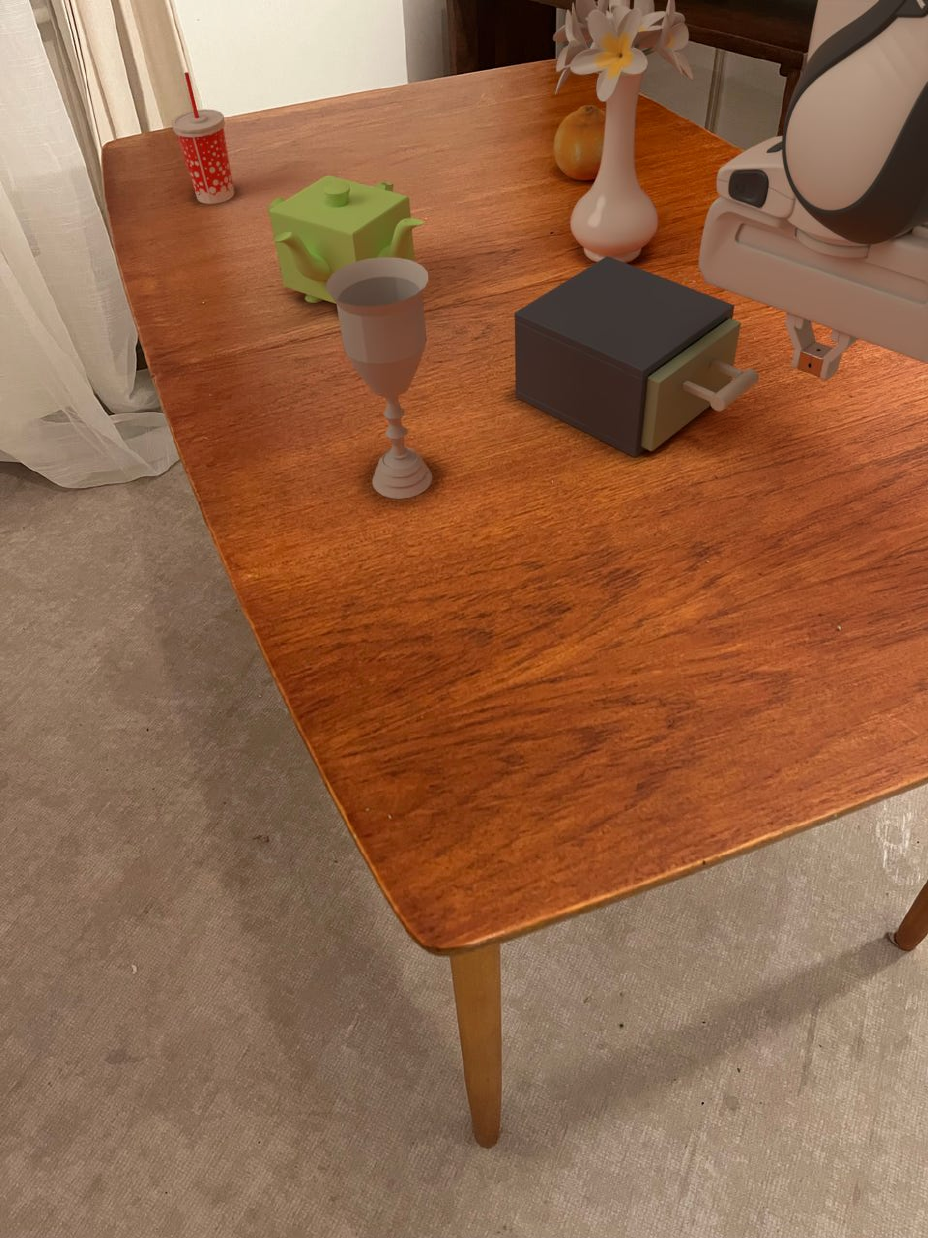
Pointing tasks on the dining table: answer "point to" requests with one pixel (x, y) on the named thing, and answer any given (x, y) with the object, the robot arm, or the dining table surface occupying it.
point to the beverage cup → (205, 151)
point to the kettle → (338, 231)
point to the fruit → (580, 143)
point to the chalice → (386, 352)
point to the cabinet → (606, 346)
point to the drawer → (694, 384)
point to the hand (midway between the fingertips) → (813, 370)
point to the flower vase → (618, 114)
